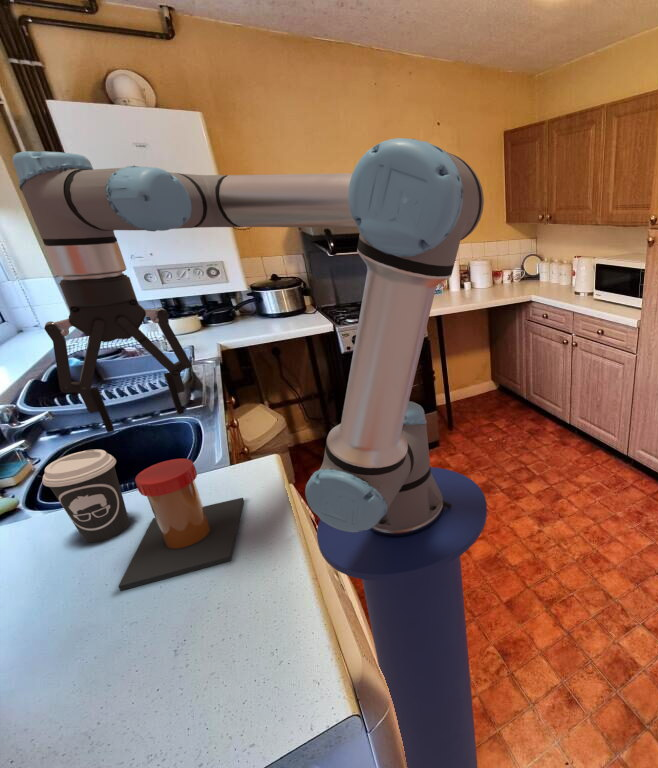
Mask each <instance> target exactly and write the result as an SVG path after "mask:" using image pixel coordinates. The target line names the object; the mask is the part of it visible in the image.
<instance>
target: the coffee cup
mask: <svg viewBox="0 0 658 768" xmlns="http://www.w3.org/2000/svg"><path fill="white" fill-rule="evenodd" d="M116 464H117V459H116V458H115V457H114V456H113V455H112V454H110V453H108V452H107V451H106V450H104V449H87V450H83V451H78V452H74V453H71V454H70V453H69V454H67V455H65V456H62V457H60V458H57V459H55V460H54V461H52V462H50V463H49V464H48V465H47V466H45V468H44V474H43V475H42V484H43V486H45V487H48V488H50V490H51V491H52V493H53V494H54V496H55V497H56V500H57V501H58V502H59V504H60V505H61V506H62V508H63V509H64V511H65V513H66V514H67V516H68V517H69V519H70V521H71V522H72V523H73V525H74V527H75V528H76V530H77V531H78V532H79V534H80V536H81V537H82V539H83V540H84V541H85V542H87V543H97V542H98V543H99V542H102V541H105V540H110V539H112V538H113V537H115V536H117V535H119V534H121V533H122V532H124V531H126V529H127V528H128V527H129V526H130V523H131V521H130V518H129V515H128V512H127V508H126V507H127V506H126V504H125V501H124V497H123V493H122V489H121V485H120V482H119V478H118V474H117V472H116V468H115V465H116Z"/></svg>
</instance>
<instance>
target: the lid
mask: <svg viewBox="0 0 658 768" xmlns="http://www.w3.org/2000/svg"><path fill="white" fill-rule="evenodd" d="M197 476H198V473H197V469H196V466H195V464H194V462H193V460H191V459H188V458H174V459H169V460H164V461H161V462H158V463H156V464H152V465H150V466H149V467H147V468H144V469H143V470H142V471H140V472H139V473H138V474H137V475H136V476H135V479H134V481H135V485H136V488H137V490H138V492H139V493H140V495H141V496H144V497H147V496H149V497H153V496H161V495H166V494H169V493H172V492H175V491H178V490H180V489H182V488H184V487H186V486H187V485H189V484H190V483H192V482H193V481H195V480H196V479H197Z"/></svg>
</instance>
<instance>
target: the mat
mask: <svg viewBox="0 0 658 768" xmlns="http://www.w3.org/2000/svg"><path fill="white" fill-rule="evenodd" d="M244 502H245V500H244V497H239V498H234V499H229V500H226V501H221V502H217V503H211V504H209V505H203V508H204V511H205V514H206V516H207V519H208V522H209V525H210V531H209V533H208V534H207V535H206V536H205V537H204V538H203V539H202V540H200V541H198V542H197V543H195V544H192V545H190V546H187V547H184V548H178V549H173V548H169V547H167V546H166V544H165V541H164V539H163V536H162V533H161V531H160V528H159V526H158V523H157V521H156V518H155V517H152V520H151V521H150V523H149V525H148V527H147V528H146V531H145V533H144V535H143V537H142V539H141V541H140V543H139V545H138V547H137V549H136V551H135V553H134V555H133V556H132V559H131V561H130V562H129V565H128V566H127V568H126V570H125V572H124V573H123V576H122V577H121V580H120V582H119V584H118V589H119V590H120V592H122V591H126V590H130V589H134V588H136V587H140V586H144V585H148V584H152V583H156V582H159V581H162V580H166V579H170V578H173V577H176V576H180V575H185V574H188V573H191V572H195V571H200V570H203V569H207V568H210V567H214V566H217V565H221V564H225V563H228V562H231V561H232V557H233V554H234V548H235V543H236V539H237V535H238V530H239V525H240V522H241V517H242V512H243V509H244Z"/></svg>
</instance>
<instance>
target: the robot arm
mask: <svg viewBox="0 0 658 768" xmlns="http://www.w3.org/2000/svg"><path fill="white" fill-rule="evenodd" d="M12 164H13V167H14V170H15V173H16V176H17V179H18V188H19V190H20V191H21V192H22V195H23V198H24V199H25V202H26V205H27V207H28V209H29V212H30V214H31V217H32V220H33V222H34V224H35V226H36V229H37V231H38V233H39V236H40V238H41V240H42V242H43V245H44V247H43V248H44V249H45V252H46V254H47V257H48V260H49V262H50V264H51V267H52V269H53V271H54V274H55V275H56V276H57V277H62V278H63V279H61V280H60V282H59V283H58V285H59V287H60V289H61V291H62V294H63V297H64V300H65V303H66V305H67V307H68V310H69V315H68V318H65V319H62V320H57V321H47V322H45V324H44V331H45V332H46V334H47V335H48V337H49V338H50V340H51V342H52V345H53V346H52V347H53V353H54V358H55V366H56V373H57V379H58V385H59V391H60V392H61V393H63V394H69V393H76V394H79V395H80V397H81V398H82V401H83V404H84V405H85V408H86V410H87V411H88V413H90V414H94V413H97V412H99V415H100V417H101V420H102V422H103V425H104V427H105V431H106V432H107V433H111V432H112V433H113V432H115V428H114V424H113V422H112V419H111V416H110V413H109V412H108V410H107V407H106V405H105V401H104V400H103V397H102V395H101V392H100V389H99V387H98V386H95V387H92V385H93V380H94V376H95V372H96V367H97V362H98V357H99V353H100V349H101V345H102V343H108V342H113V341H115V340H129V339H131V338H133V339H134V340H135V341H136V342H137V343H138V344H139V345H140V346H142V347H143V349H145V350H146V351H147V352H148V353H149V354H150V355H151V356H152V357H153V358H154V359H155V360H156V361H157V362H158V363H159V364H161V365H162V366H163V367H164V368H165V369H166V370H167V372H164V373H163V375H164V379H165V381H166V384H167V387H168V390H169V393H170V397H171V399H172V403H173V405H174V408H175V411H176V413H177V415H182V414H185V411H184V409H183V406H182V403H181V400H180V396H179V394H180V393H184V392H185V391H186V390H185V385H184V382H183V379H182V376H181V374H182V372H183V371H185V370H187V369H190V368H191V367H192V363H191V361H190V359H189V357H188V355H187V353H186V352H185V350H184V349H183V347H182V344H181V343H180V341H179V339H178V338H177V336H176V334H175V333H174V330H173V329H172V327H171V326H170V321H169V319H170V318H169V312H168V311H167V310H166V309H164V307H158V308H144V307H143V306H141V304H140V303H139V301H138V298H137V295H136V292H135V289H134V286H133V283H132V281H131V277H130V276H128V275H127V274H125V273H123V272H125V271H126V270H127V269H128V268H127V266H126V262H125V260H124V257H123V254H122V251H121V247H120V244H119V242H118V238H117V236H116V235H115V231H147V232H157V231H159V232H160V231H161V232H163V231H169V230H177V229H178V230H179V229H196V228H319V229H320V228H328V229H329V228H331V229H332V228H335V229H338V228H339V229H341V228H342V229H358V231H359V234H358V235H359V236H358V242H357V249H356V252H357V254H358V255H359V257H360V258H361V259H362V261H363V262H364V263H365V265H366V269H367V272H366V277H365V283H364V288H363V293H362V298H361V299H362V300H361V306H360V312H359V319H358V321H357V328H356V329H357V330H356V335H355V339H354V345H353V352H352V358H351V362H350V369H349V374H348V381H347V387H346V391H345V398H344V402H343V403H344V404H343V409H342V414H341V422H340V423H339V424H337V425H336V426H334V427H332V429H330V431H329V432H328V435H327V437H326V442H325V448H324V455H323V460H322V464H321V466H320V468H319V469H318V470H315V471H314V472H313V473H312V475H311V476H310V478H309V480H308V481H307V483H306V484H305V490H304V491H305V492H304V493H305V500H306V502H307V505H308V507H309V509H311V511H312V512H313V513H314V514H315V515H316V516H317V517H318V518H319V520H320V519H321V520H322V521H323V522H325V523H327V524H328V525H330V526H332V527H334V528H336V529H339V530H342V531H347V532H361V531H363V530H368V529H369V530H370V531H372V532H373V533H375V534H377V535H380V536H384V537H391V538H398V537H406V536H411V535H414V534H417V533H420V532H422V531H424V530H426V529H428V528H429V527H431V526H432V525H433V524H435V523H436V522H437V521H438V519H439V518H440V517H441V515H442V513H443V509H444V506H446V507H448V508H451V505H452V504H450V503H447V502H445V501H443V496H442V494H441V491H440V490H439V488H438V486H437V484H436V482H435V480H434V478H433V476H432V474H431V469H430V467H431V460H430V459H431V457H430V449H429V438H428V429H427V423H428V422H427V419H426V414H425V410H424V408H423V407H422V405H420V404H418V403H416V402H414V401H410V397H411V393H412V389H413V386H414V382H415V378H416V377H415V376H416V373H417V370H418V369H417V368H418V364H419V359H420V355H421V351H422V348H423V343H424V339H425V335H426V331H427V328H428V323H429V318H430V315H431V311H432V306H433V302H434V297H435V293H436V290H437V287H438V285H439V284H442V283H443V282H445V281H447V280H448V279H450V278H451V277H452V275H453V271H454V267H455V263H456V260H457V255H458V252H459V248H460V244H461V241H463V240H464V239H466V238H467V237H468V236H470V235H471V234H472V233H473V232H474V231H475V229H477V226H478V224H479V223H480V221H481V218H482V214H483V212H484V203H485V198H484V191H483V187H482V184H481V181H480V179H479V177H478V175H477V173H476V171H475V170H474V168H472V167H471V166H470V164H468V162H466V161H465V160H464V159H462V158H460V157H459V156H457V155H455V154H454V153H451V152H448V151H446V150H445V149H442V148H440V147H439V146H437V145H434V144H432V143H430V142H429V141H425V140H424V141H423V140H418V139H415V138H404V137H400V138H399V137H397V138H390V139H386V140H384V141H382V142H379V143H377V144H375V145H374V146H373V147H371V148H370V149H368V150H367V151H366V152H365V153H364V154H363V155H362V157H360V159H359V160H358V162H357V163H356V165H355V167H354V169H353V171H352V172H345V173H343V172H341V173H338V172H337V173H285V174H284V173H283V174H282V173H280V174H279V173H278V174H276V173H275V174H273V173H272V174H190V173H180V172H169V171H167V170H166V169H163V168H159V167H152V166H151V167H150V166H137V165H127V166H125V167H113V168H111V167H110V168H95V169H94V167H93V165H92V163H91V161H90V160H89V159H88V157H86V156H85V155H81V154H78V153H72V152H71V153H70V152H62V151H33V150H29V151H28V150H27V151H20V152H17V153H15V154H14V155H13V157H12ZM147 317H148V318H149V319H150V321H151V322H152V323H153V324H157V325H158V328H159V329H160V331H161V332H162V335H163V336H164V337H165V339H166V341H167V343H168V344H169V346H170V348H171V350H172V352H173V353H174V355H175V356H176V358H177V360H178V361H176V362H173V361H172V360H171V359H170V358H169V357H168V356H167V355H166V354H165V353H164V351H162V350H161V349H160V348H159V347H158V346H156V344H155V343H154V342H153V341H152V340H151V339H150V338H149V337H148V336H146V334H144V332H143V331H141V329H140V327H141V326H142V324H143V322H144V319H145V318H147ZM72 327H74V328H75V329H77V330H78V331H80V332H82V333H83V334H85V335H87V336H88V339H87V344H86V348H85V349H86V350H85V353H84V359H83V364H82V368H81V373H80V378H79V381H72V375H71V368H70V360H69V354H68V347H67V340H66V337H68V336H69V334H70V328H72Z"/></svg>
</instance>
